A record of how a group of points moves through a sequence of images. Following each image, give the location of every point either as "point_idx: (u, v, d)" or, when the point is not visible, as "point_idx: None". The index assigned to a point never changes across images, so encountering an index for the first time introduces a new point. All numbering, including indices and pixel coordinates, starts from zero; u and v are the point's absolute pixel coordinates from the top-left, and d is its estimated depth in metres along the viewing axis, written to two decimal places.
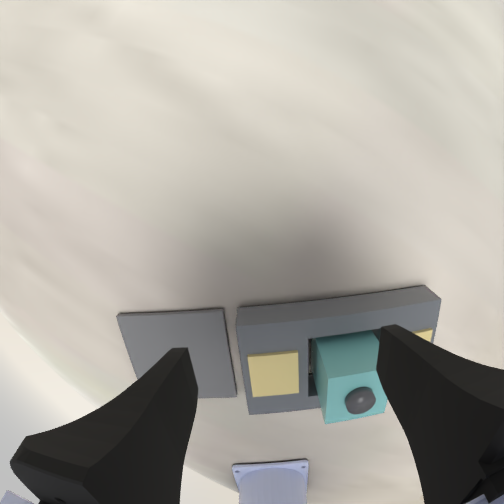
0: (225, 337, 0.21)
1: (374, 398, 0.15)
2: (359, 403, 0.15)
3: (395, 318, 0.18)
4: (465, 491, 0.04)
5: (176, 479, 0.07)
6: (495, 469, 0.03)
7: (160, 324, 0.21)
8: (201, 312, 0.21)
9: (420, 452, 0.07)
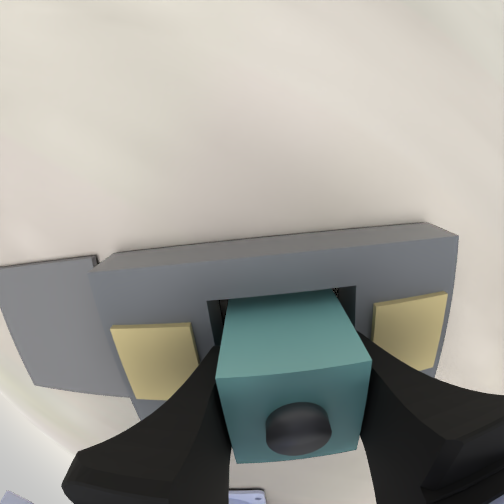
0: None
1: (327, 428, 0.07)
2: (293, 436, 0.07)
3: (376, 267, 0.10)
4: None
5: (226, 481, 0.07)
6: (439, 496, 0.03)
7: (27, 280, 0.13)
8: (67, 260, 0.12)
9: (374, 465, 0.07)
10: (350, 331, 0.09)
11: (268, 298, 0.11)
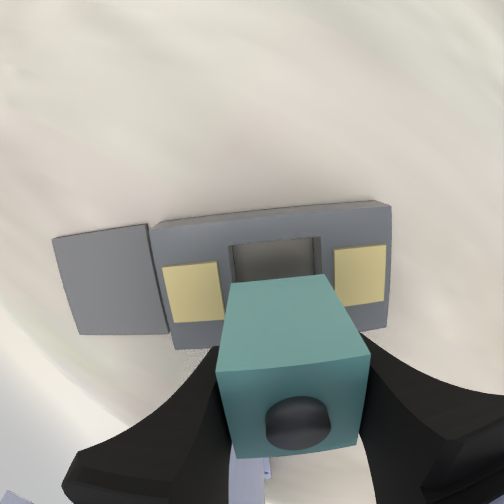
0: (149, 256, 0.19)
1: (327, 422, 0.07)
2: (293, 430, 0.07)
3: (333, 225, 0.17)
4: None
5: (226, 481, 0.07)
6: (439, 496, 0.03)
7: (88, 244, 0.19)
8: (125, 227, 0.19)
9: (374, 465, 0.07)
10: (349, 326, 0.09)
11: (268, 294, 0.12)
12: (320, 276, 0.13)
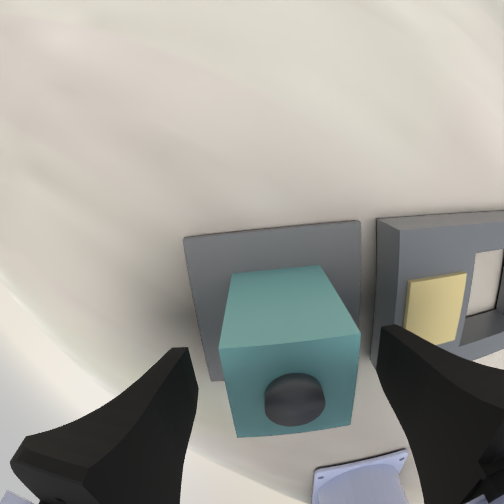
0: (359, 266, 0.14)
1: (321, 397, 0.08)
2: (290, 405, 0.08)
3: None
4: (465, 491, 0.04)
5: (176, 479, 0.07)
6: (495, 469, 0.03)
7: (261, 248, 0.14)
8: (329, 224, 0.13)
9: (420, 452, 0.07)
10: (342, 309, 0.10)
11: (267, 283, 0.12)
12: (315, 266, 0.14)
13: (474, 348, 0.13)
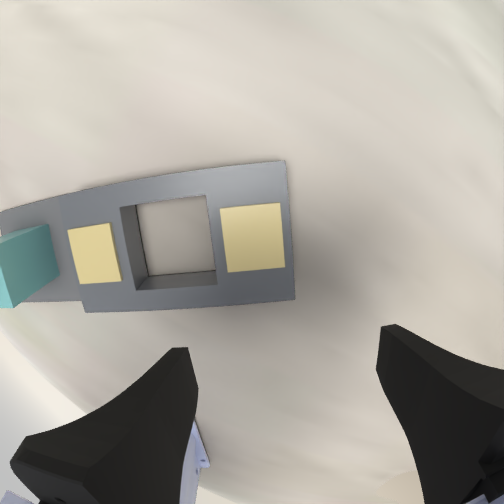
0: None
1: None
2: None
3: (218, 183, 0.16)
4: (465, 491, 0.04)
5: (176, 479, 0.07)
6: (495, 469, 0.03)
7: (23, 215, 0.19)
8: (50, 198, 0.18)
9: (420, 452, 0.07)
10: (9, 239, 0.15)
11: (15, 232, 0.17)
12: None
13: (158, 296, 0.18)
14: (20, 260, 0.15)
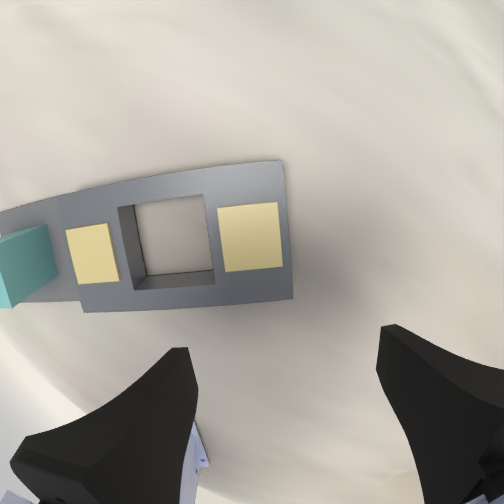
0: None
1: None
2: None
3: (215, 182, 0.16)
4: (465, 491, 0.04)
5: (176, 479, 0.07)
6: (495, 469, 0.03)
7: (22, 215, 0.19)
8: None
9: (420, 452, 0.07)
10: (7, 239, 0.15)
11: (14, 233, 0.17)
12: None
13: (156, 296, 0.18)
14: (19, 260, 0.15)
